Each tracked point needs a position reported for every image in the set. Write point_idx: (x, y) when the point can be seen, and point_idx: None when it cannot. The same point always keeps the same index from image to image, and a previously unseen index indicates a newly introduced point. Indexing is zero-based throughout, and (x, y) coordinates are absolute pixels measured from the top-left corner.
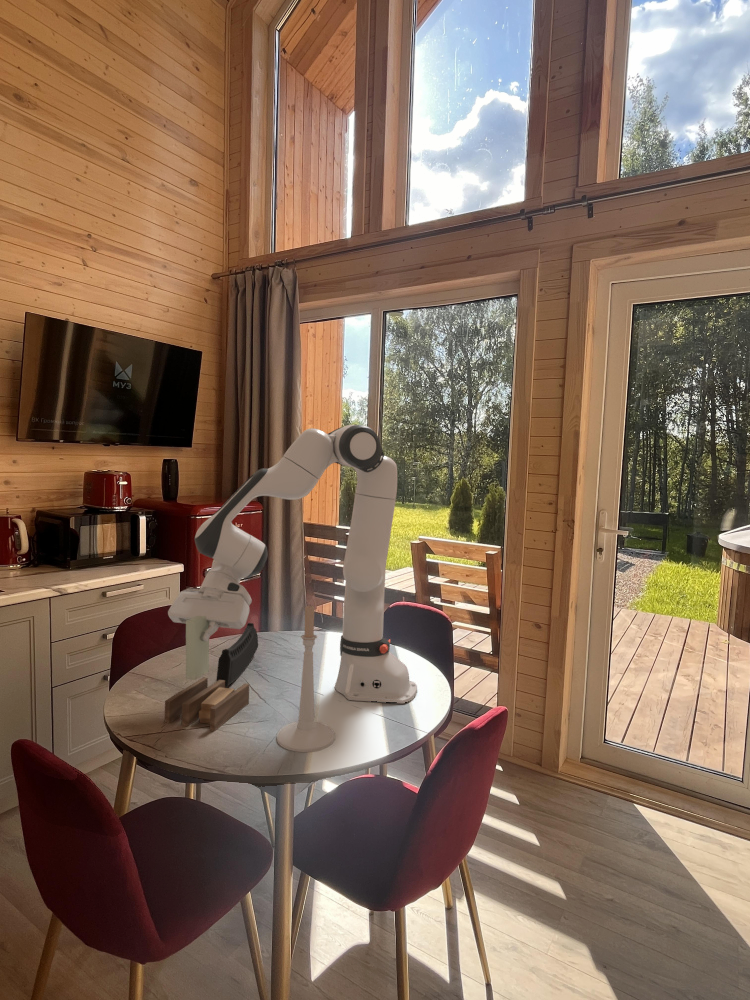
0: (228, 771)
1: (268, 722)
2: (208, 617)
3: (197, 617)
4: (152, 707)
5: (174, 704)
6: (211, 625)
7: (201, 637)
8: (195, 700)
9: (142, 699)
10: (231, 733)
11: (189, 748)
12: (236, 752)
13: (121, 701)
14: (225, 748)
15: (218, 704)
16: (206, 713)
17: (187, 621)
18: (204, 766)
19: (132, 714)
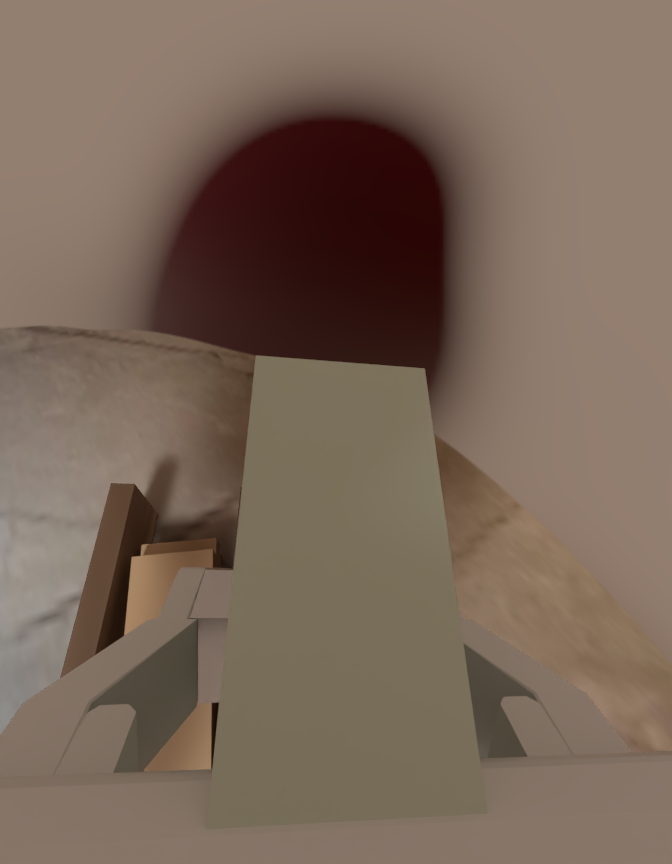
0: (20, 332)
1: None
2: (130, 811)
3: (381, 632)
4: (464, 613)
5: None
6: (77, 712)
7: (228, 570)
8: (236, 538)
9: (558, 670)
10: (69, 516)
11: (173, 399)
12: (18, 413)
13: (604, 619)
14: (61, 424)
15: (112, 530)
16: (183, 541)
17: (394, 371)
18: (93, 338)
19: (479, 535)
